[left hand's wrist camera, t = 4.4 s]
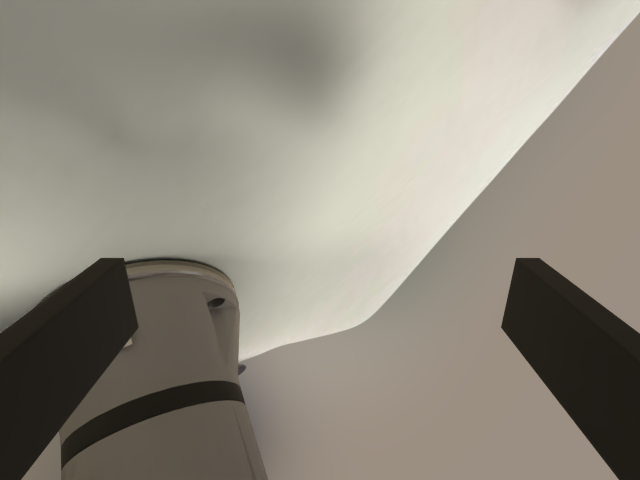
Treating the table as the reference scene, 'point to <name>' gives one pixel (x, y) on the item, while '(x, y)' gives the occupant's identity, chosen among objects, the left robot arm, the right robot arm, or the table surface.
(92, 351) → the left robot arm
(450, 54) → the table surface
